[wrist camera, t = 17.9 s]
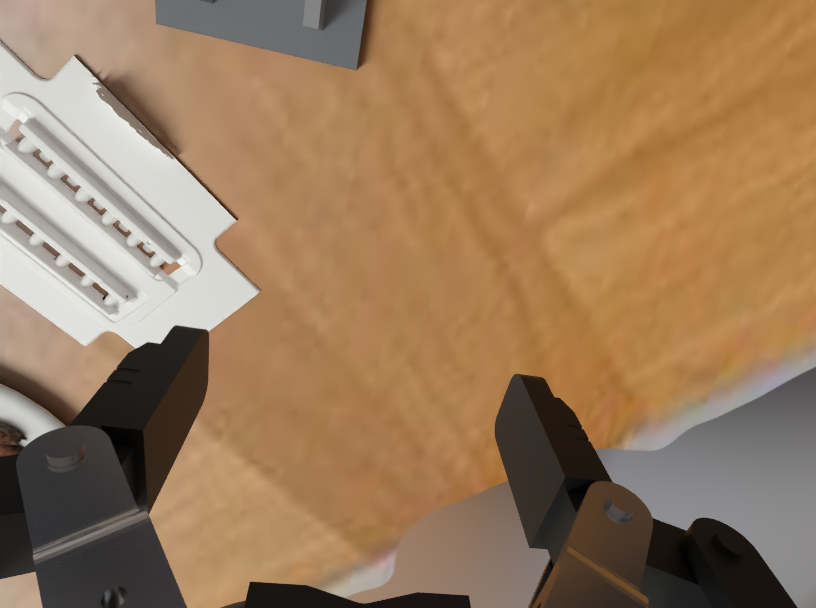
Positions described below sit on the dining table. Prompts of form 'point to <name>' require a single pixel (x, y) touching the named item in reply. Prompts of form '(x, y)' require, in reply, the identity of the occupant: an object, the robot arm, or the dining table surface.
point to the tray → (104, 215)
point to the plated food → (22, 421)
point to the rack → (276, 25)
